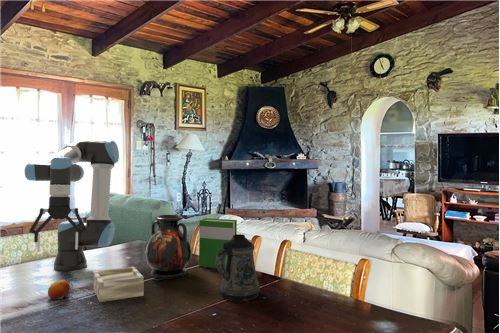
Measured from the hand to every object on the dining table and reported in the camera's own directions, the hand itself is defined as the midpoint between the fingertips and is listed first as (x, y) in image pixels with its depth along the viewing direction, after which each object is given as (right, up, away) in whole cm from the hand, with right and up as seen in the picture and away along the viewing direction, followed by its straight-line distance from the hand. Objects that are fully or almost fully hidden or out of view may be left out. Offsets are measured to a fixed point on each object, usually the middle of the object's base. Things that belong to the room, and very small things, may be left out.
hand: (57, 249), depth 161 cm
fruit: (0, -20, +2) cm, 20 cm away
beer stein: (+71, -21, +7) cm, 74 cm away
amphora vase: (+37, -19, +33) cm, 53 cm away
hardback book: (+59, -19, +49) cm, 79 cm away
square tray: (+21, -19, +9) cm, 30 cm away
